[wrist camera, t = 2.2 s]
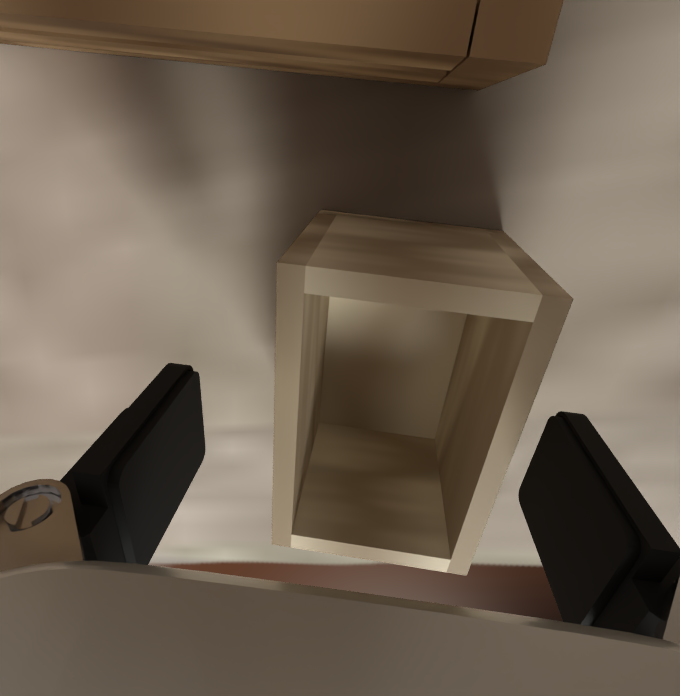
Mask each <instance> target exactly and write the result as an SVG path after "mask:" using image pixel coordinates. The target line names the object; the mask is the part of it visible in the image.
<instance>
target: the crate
mask: <svg viewBox="0 0 680 696" xmlns="http://www.w3.org/2000/svg"><path fill="white" fill-rule="evenodd" d="M562 4H563V0H0V43H1V44H11V45H21V46H32V47H42V48H52V49H62V50H72V51H82V52H92V53H103V54H113V55H123V56H133V57H143V58H153V59H163V60H173V61H184V62H194V63H204V64H214V65H224V66H234V67H244V68H255V69H265V70H275V71H285V72H295V73H305V74H315V75H325V76H336V77H346V78H356V79H366V80H376V81H386V82H396V83H407V84H417V85H427V86H437V87H447V88H457V89H467V90H477V91H478V90H480V89H483V88H486V87H488V86H491V85H493V84H496V83H498V82H501V81H504V80H506V79H509V78H511V77H514V76H517V75H519V74H522V73H524V72H527V71H529V70H532V69H535V68H537V67H540V66H542V65H545V64H546V62H547V59H548V55H549V51H550V48H551V44H552V40H553V37H554V33H555V29H556V26H557V22H558V18H559V15H560V11H561V7H562Z"/></svg>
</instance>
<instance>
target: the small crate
mask: <svg viewBox="0 0 680 696" xmlns="http://www.w3.org/2000/svg"><path fill="white" fill-rule="evenodd" d="M572 302H573V298H572V297H571V296H570V295H569V294H568V293H567V292H566V291H565V290H564V289H563V288H562V287H561V286H560V285H558V284H557V283H556V282H555V281H554V280H553V279H552V278H551V277H550V276H549V275H548V274H547V273H546V272H545V271H544V270H543V269H542V268H541V267H540V266H539V265H538V264H537V263H536V262H535V261H534V260H533V259H532V258H531V257H530V256H529V255H528V254H526V253H525V252H524V251H523V250H522V249H521V248H520V247H519V246H518V245H517V244H516V243H515V242H514V241H513V240H512V239H511V238H510V237H509V236H508V235H507V234H506V233H505V232H504V231H499V230H491V229H482V228H473V227H465V226H456V225H447V224H439V223H430V222H422V221H413V220H404V219H396V218H387V217H379V216H370V215H361V214H353V213H344V212H335V211H327V210H320V211H319V212H318V214H317V215H316V216H315V217H314V218H313V220H312V221H311V222H310V223H309V224H308V226H307V227H306V228H305V229H304V230H303V232H302V233H301V234H300V235H299V236H298V238H297V239H296V240H295V241H294V242H293V244H292V245H291V246H290V247H289V248H288V250H287V251H286V252H285V253H284V254H283V256H282V257H281V258H280V259H279V260H278V262H277V285H276V339H275V393H274V447H273V500H272V544H273V545H279V546H285V547H292V548H298V549H304V550H310V551H316V552H323V553H329V554H335V555H341V556H348V557H354V558H360V559H366V560H373V561H379V562H385V563H391V564H398V565H404V566H411V567H417V568H423V569H429V570H435V571H441V572H448V573H454V574H461V575H467V573H468V570H469V568H470V565H471V562H472V560H473V557H474V555H475V552H476V549H477V547H478V544H479V542H480V539H481V537H482V534H483V531H484V529H485V526H486V524H487V521H488V518H489V516H490V513H491V511H492V508H493V506H494V503H495V500H496V498H497V495H498V493H499V490H500V487H501V485H502V482H503V480H504V477H505V475H506V472H507V469H508V467H509V464H510V462H511V459H512V457H513V454H514V451H515V449H516V446H517V444H518V441H519V438H520V436H521V433H522V431H523V428H524V426H525V423H526V420H527V418H528V415H529V413H530V410H531V407H532V405H533V402H534V400H535V397H536V395H537V392H538V389H539V387H540V384H541V382H542V379H543V376H544V374H545V371H546V369H547V366H548V364H549V361H550V358H551V356H552V353H553V351H554V348H555V345H556V343H557V340H558V338H559V335H560V333H561V330H562V327H563V325H564V322H565V320H566V317H567V314H568V312H569V309H570V307H571V304H572Z"/></svg>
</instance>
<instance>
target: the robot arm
mask: <svg viewBox="0 0 680 696" xmlns="http://www.w3.org/2000/svg"><path fill="white" fill-rule="evenodd" d="M204 455H205V438H204V425H203V413H202V401H201V389H200V377H199V373H198V372H195V371H193V368H192V366H190V365H182V364H174V363H168V364H167V365H166V366H165V367H164V368H163V369H162V371H161V372H160V373H159V374H158V375H157V376H156V377H155V378H154V380H153V381H152V382H151V383H150V384H149V385H148V386H147V388H146V389H145V390H144V391H143V392H142V393H141V394H140V395H139V397H138V398H137V399H136V400H135V401H134V402H133V403H132V404H131V406H130V407H129V408H126V409H125V410H124V411H122V412H121V414H120V415H119V416H118V417H117V418H116V419H115V420H114V421H113V422H112V424H111V425H110V426H109V427H108V428H107V429H106V430H105V431H104V432H103V434H102V435H101V436H100V437H99V438H98V439H97V440H96V441H95V442H94V444H93V445H92V446H91V447H90V448H89V449H88V450H87V451H86V452H85V454H84V455H83V456H82V457H81V458H80V459H79V460H78V461H77V463H76V464H75V465H74V466H73V467H72V468H71V469H70V470H69V471H68V473H67V474H66V475H65V476H64V477H63V478H62V479H61V480H60V481H57V480H52V479H38V480H34V481H29V482H25V483H22V484H20V485H17V486H15V487H13V488H11V489H9V490H7V491H6V492H4V493H2V494H1V495H0V696H680V548H679V547H678V545H677V544H676V542H675V541H674V540H673V538H672V537H671V535H670V534H669V532H668V531H667V530H666V528H665V527H664V525H663V524H662V523H661V521H660V520H659V518H658V517H657V516H656V514H655V513H654V511H653V510H652V508H651V507H650V506H649V504H648V503H647V501H646V500H645V499H644V497H643V496H642V494H641V493H640V491H639V490H638V489H637V487H636V486H635V484H634V483H633V482H632V480H631V479H630V477H629V476H628V475H627V473H626V472H625V470H624V469H623V467H622V466H621V465H620V463H619V462H618V460H617V459H616V458H615V456H614V455H613V453H612V452H611V450H610V449H609V448H608V446H607V445H606V443H605V442H604V441H603V439H602V438H601V436H600V435H599V434H598V432H597V431H596V429H595V428H594V426H593V425H592V424H591V422H590V421H589V419H588V418H587V417H586V416H585V415H583V414H578V413H570V412H562V411H561V412H558V413H557V414H556V416H551V417H550V418H549V419H548V421H547V424H546V426H545V429H544V431H543V433H542V436H541V438H540V441H539V443H538V445H537V448H536V450H535V453H534V455H533V457H532V460H531V462H530V465H529V467H528V470H527V472H526V474H525V477H524V479H523V482H522V484H521V486H520V489H519V502H520V505H521V508H522V511H523V513H524V516H525V519H526V522H527V524H528V527H529V530H530V532H531V535H532V538H533V541H534V543H535V546H536V549H537V551H538V554H539V557H540V559H541V562H542V565H543V568H544V570H545V573H546V576H547V578H548V581H549V584H550V587H551V589H552V592H553V594H554V597H555V600H556V603H557V605H558V608H559V611H560V614H561V616H562V619H563V622H561V621H555V620H548V619H541V618H534V617H527V616H521V615H513V614H506V613H500V612H493V611H486V610H479V609H472V608H465V607H458V606H451V605H444V604H437V603H430V602H423V601H416V600H408V599H401V598H395V597H387V596H380V595H373V594H366V593H359V592H351V591H344V590H337V589H330V588H323V587H315V586H307V585H301V584H293V583H286V582H277V581H271V580H263V579H255V578H248V577H240V576H233V575H226V574H218V573H211V572H203V571H194V570H185V569H178V568H168V567H160V566H152V565H148V564H149V562H150V560H151V558H152V556H153V554H154V552H155V550H156V548H157V547H158V545H159V543H160V541H161V539H162V537H163V535H164V533H165V531H166V529H167V528H168V526H169V524H170V522H171V520H172V518H173V516H174V514H175V512H176V511H177V509H178V507H179V505H180V503H181V501H182V499H183V497H184V495H185V493H186V492H187V490H188V488H189V486H190V484H191V482H192V480H193V478H194V476H195V474H196V473H197V471H198V469H199V467H200V465H201V463H202V461H203V458H204Z"/></svg>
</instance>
